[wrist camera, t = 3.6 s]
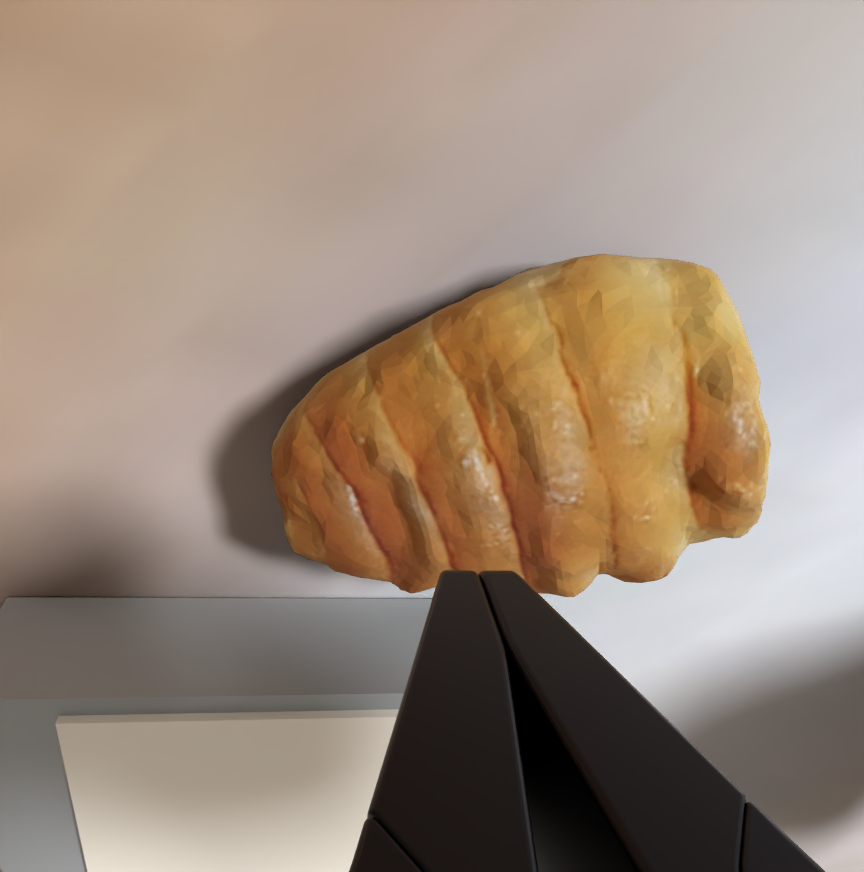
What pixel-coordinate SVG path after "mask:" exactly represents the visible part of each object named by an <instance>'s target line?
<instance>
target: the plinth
mask: <svg viewBox="0 0 864 872" xmlns="http://www.w3.org/2000/svg"><path fill="white" fill-rule="evenodd" d="M431 602H432V599H412V598H43V597H7V598H6V600H5V602H4V603H3V605H2V607H1V609H0V868H1V871H2V872H349V870H350V867H351V864H352V861H353V858H354V854H355V851H356V848H357V844H358V841H359V838H360V835H361V831H362V828H363V825H364V822H365V820H366V819H367V814H368V810H369V807H370V803H371V800H372V797H373V793H374V790H375V787H376V783H377V780H378V777H379V774H380V770H381V767H382V764H383V760H384V757H385V754H386V750H387V747H388V744H389V741H390V737H391V734H392V731H393V727H394V724H395V721H396V717H397V714H398V711H399V708H400V704H401V701H402V698H403V694H404V691H405V688H406V684H407V681H408V678H409V675H410V671H411V668H412V665H413V661H414V658H415V655H416V651H417V648H418V645H419V641H420V638H421V635H422V632H423V628H424V625H425V622H426V618H427V615H428V612H429V608H430V605H431Z"/></svg>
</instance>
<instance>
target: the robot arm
mask: <svg viewBox="0 0 864 872" xmlns="http://www.w3.org/2000/svg"><path fill="white" fill-rule="evenodd" d="M745 802H746V798H745V795H744V794H743V793H742V792H741V791H740V790H739V789H738V788H737V787H736V786H735V785H734V784H733V783H732V782H731V781H730V780H729V779H728V778H727V777H726V776H725V775H724V774H723V773H722V772H721V771H720V770H719V769H718V768H717V767H716V766H715V765H713V764H712V763H711V762H710V761H709V760H708V759H707V758H706V757H705V756H704V755H703V754H702V753H701V752H700V751H699V750H698V749H697V748H696V747H695V746H694V745H693V744H692V743H691V742H690V741H689V740H688V739H687V738H686V737H685V736H684V735H683V734H682V733H681V732H680V731H679V730H678V729H677V728H676V727H675V726H673V725H672V724H671V723H670V722H669V721H668V720H667V719H666V718H665V717H664V716H663V715H662V714H661V713H660V712H659V711H658V710H657V709H656V708H655V707H654V706H653V705H652V704H651V703H650V702H649V701H648V700H647V699H646V698H645V697H644V696H643V695H642V694H641V693H640V692H639V691H638V690H637V689H636V688H635V687H633V686H632V685H631V684H630V683H629V682H628V681H627V680H626V679H625V678H624V677H623V676H622V675H621V674H620V673H619V672H618V671H617V670H616V669H615V668H614V667H613V666H612V665H611V664H610V663H609V662H608V661H607V660H606V659H605V658H604V657H603V656H602V655H601V654H600V653H599V652H598V651H597V650H596V649H595V648H593V647H592V646H591V645H590V644H589V643H588V642H587V641H586V640H585V639H584V638H583V637H582V636H581V635H580V634H579V633H578V632H577V631H576V630H575V629H574V628H573V627H572V626H571V625H570V624H569V623H568V622H567V621H566V620H565V619H564V618H563V617H562V616H561V615H560V614H559V613H558V612H557V611H556V610H555V609H553V608H552V607H551V606H550V605H549V604H548V603H547V602H546V601H545V600H544V599H543V598H542V597H541V596H540V595H539V594H538V593H537V592H536V591H535V590H534V589H533V588H532V587H531V586H530V585H529V584H528V583H527V582H526V581H525V580H524V579H523V578H522V577H521V576H520V575H518V574H517V573H516V572H514V571H505V570H484V571H482V572H480V573H479V574H477V573H476V572H474V571H472V570H444V571H443V572H441V574H440V576H439V579H438V582H437V585H436V589H435V592H434V595H433V599H432V602H431V605H430V608H429V612H428V615H427V618H426V622H425V625H424V628H423V632H422V635H421V638H420V641H419V645H418V648H417V651H416V655H415V658H414V661H413V665H412V668H411V671H410V675H409V678H408V681H407V684H406V688H405V691H404V694H403V698H402V701H401V704H400V708H399V711H398V714H397V717H396V721H395V724H394V727H393V731H392V734H391V737H390V741H389V744H388V747H387V750H386V754H385V757H384V760H383V764H382V767H381V770H380V774H379V777H378V780H377V783H376V787H375V790H374V793H373V797H372V800H371V803H370V807H369V810H368V814H367V819H366V820H365V822H364V825H363V828H362V831H361V835H360V838H359V841H358V844H357V848H356V851H355V854H354V858H353V861H352V864H351V867H350V870H349V872H825V871H824V870H823V869H822V868H821V867H820V866H819V865H818V864H817V863H816V862H815V861H814V860H812V859H811V858H810V857H809V856H808V855H807V854H806V853H805V852H804V851H803V850H802V849H801V848H800V847H799V846H798V845H796V844H795V843H794V842H793V841H792V840H791V839H790V838H789V837H788V836H787V835H786V834H785V833H784V832H783V831H782V830H781V829H780V828H779V827H778V826H776V825H775V824H774V823H773V822H772V821H771V820H770V819H769V818H768V817H767V816H766V815H765V814H764V813H763V812H762V811H761V810H760V809H759V808H758V807H757V806H756V805H755V804H754V803H752V802H747V803H746V804H745Z"/></svg>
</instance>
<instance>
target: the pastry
mask: <svg viewBox="0 0 864 872" xmlns="http://www.w3.org/2000/svg"><path fill="white" fill-rule="evenodd" d="M759 393H760V379H759V376H758V372H757V369H756V365H755V362H754V358H753V355H752V352H751V349H750V346H749V343H748V340H747V337H746V334H745V331H744V328H743V325H742V322H741V319H740V315H739V314H738V312H737V310H736V308H735V306H734V304H733V303H732V301H731V299H730V297H729V295H728V293H727V291H726V289H725V288H724V286H723V284H722V282H721V281H720V279H719V278H718V276H717V275H716V274H715V273H714V272H713V271H712V270H711V269H709V268H706V267H703V266H700V265H697V264H694V263H690V262H685V261H679V260H671V259H661V258H638V257H629V256H619V255H607V254H599V255H592V256H583V257H577V258H573V259H569V260H565V261H562V262H558V263H553V264H549V265H546V266H542V267H538V268H530V269H527V270H525V271H523V272H521V273H519V274H517V275H515V276H513V277H511V278H509V279H507V280H505V281H503V282H502V283H500V284H498V285H496V286H494V287H492V288H488V289H484V290H480V291H478V292H476V293H474V294H473V295H471V296H469V297H467V298H465V299H464V300H462V301H459V302H457V303H454V304H452V305H449V306H447V307H445V308H443V309H441V310H439V311H437V312H435V313H433V314H432V315H430V316H428V317H427V318H425V319H423V320H421V321H419V322H418V323H416V324H414V325H412V326H410V327H408V328H407V329H405V330H403V331H401V332H400V333H398V334H394V335H393V336H392V337H391V338H389V339H387V340H385V341H383V342H381V343H378V344H376V345H375V346H373V347H372V348H370V349H368V350H366V351H365V352H363V353H361V354H360V355H358V356H356V357H355V358H353V359H351V360H349V361H348V362H346V363H344V364H343V365H341V366H339V367H337V368H336V369H334V370H332V371H330V372H329V373H328V374H326V375H325V376H323V377H322V378H321V379H320V380H319V381H318V382H317V383H316V384H315V385H314V386H313V388H312V389H311V390H310V391H309V392H308V393H307V395H306V396H305V397H304V398H303V399H302V400H301V401H300V402H299V403H298V404H297V405H296V406H295V407H294V408H293V409H292V411H291V412H290V413H289V415H288V416H287V418H286V420H285V422H284V423H283V425H282V427H281V428H280V430H279V432H278V434H277V436H276V438H275V440H274V442H273V446H272V451H271V457H272V464H273V465H272V477H273V481H274V487H275V492H276V496H277V498H278V501H279V503H280V506H281V508H282V514H283V521H284V530H285V533H286V537H287V540H288V542H289V544H290V546H291V548H292V550H293V551H294V552H295V553H297V554H299V555H301V556H303V557H306V558H308V559H311V560H315V561H319V562H322V563H324V564H327V565H328V566H329V567H330V568H332V569H333V570H334V571H336V572H341V573H345V574H349V575H352V576H356V577H360V578H370V579H376V580H382V581H388V582H392V583H393V584H395V585H396V586H397V587H399V588H400V589H401V590H404V591H407V592H409V593H416V592H421V591H424V590H427V589H431V588H434V587H436V585H437V582H438V579H439V576H440V574H441V572H443V571H444V570H472V571H474V572H476V573H477V574H479V573H480V572H482V571H484V570H505V571H514V572H516V573H517V574H518V575H520V576H521V577H522V578H523V579H524V580H525V581H526V582H527V583H528V584H529V585H530V586H531V587H532V588H533V589H534V590H535V591H536V592H537V593H549V594H554V595H559V596H564V597H575V596H576V595H578V594H579V593H581V592H582V591H584V590H585V589H586V588H587V587H588V586H589V585H590V584H591V582H592V581H593V580H594V578H595V577H596V576H597V575H598V574H608V575H610V576H612V577H615V578H617V579H619V580H622V581H624V582H636V583H643V582H649V581H655V580H659V579H661V578H663V577H665V576H667V575H668V574H669V572H670V571H671V570H672V569H673V567H674V565H675V563H676V561H677V559H678V558H679V556H680V554H681V553H682V552H683V550H684V549H685V548H686V547H687V546H688V545H689V544H692V543H698V542H704V541H707V540H710V539H714V538H720V537H728V538H740V537H741V536H743V535H745V534H746V533H748V531H749V530H750V528H751V527H752V526H753V525H754V524H756V523H757V522H758V519H759V517H760V515H761V512H762V505H763V501H764V498H765V493H766V485H767V479H768V464H769V455H770V446H771V443H770V436H769V431H768V428H767V425H766V421H765V418H764V416H763V413H762V410H761V405H760V401H759Z"/></svg>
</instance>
